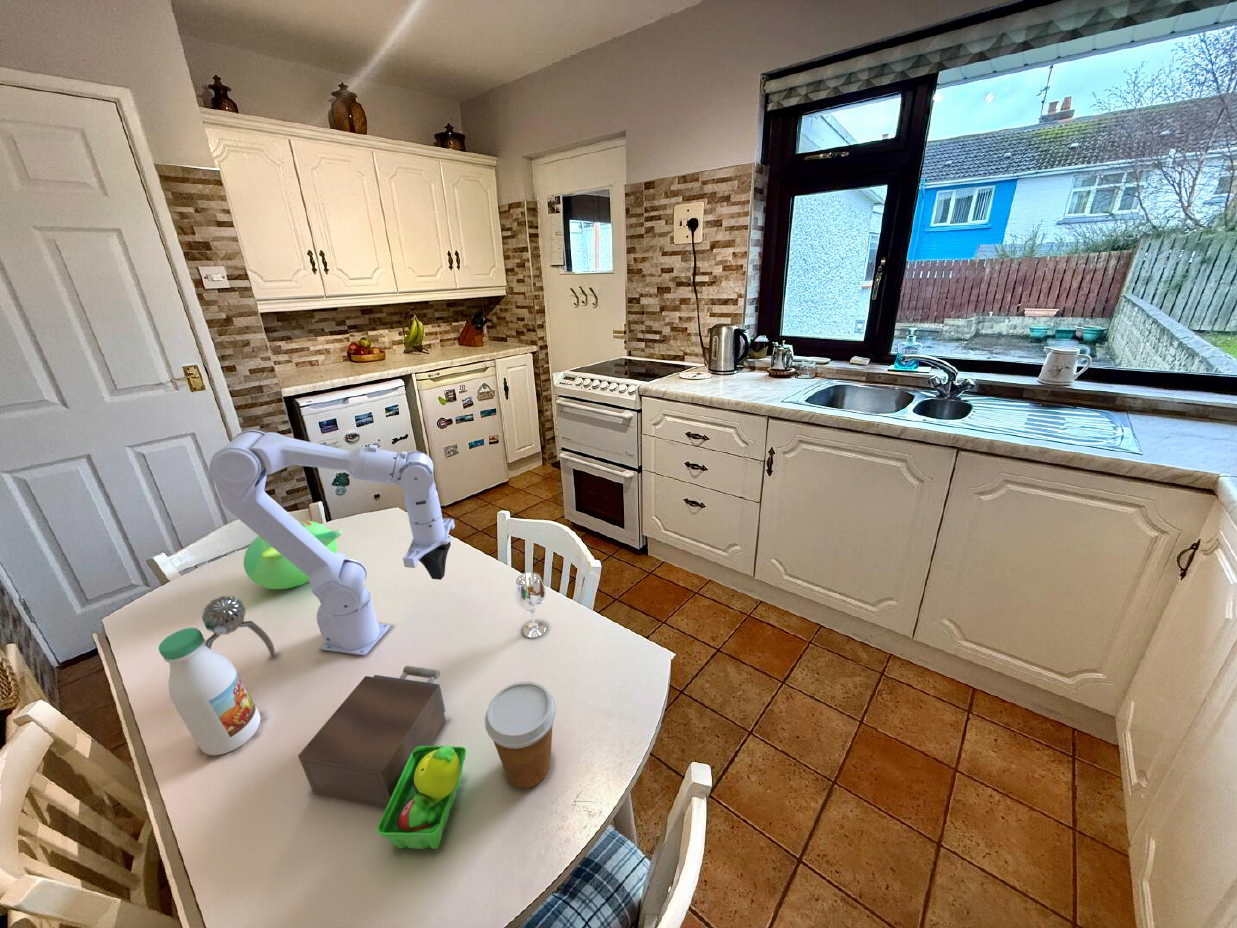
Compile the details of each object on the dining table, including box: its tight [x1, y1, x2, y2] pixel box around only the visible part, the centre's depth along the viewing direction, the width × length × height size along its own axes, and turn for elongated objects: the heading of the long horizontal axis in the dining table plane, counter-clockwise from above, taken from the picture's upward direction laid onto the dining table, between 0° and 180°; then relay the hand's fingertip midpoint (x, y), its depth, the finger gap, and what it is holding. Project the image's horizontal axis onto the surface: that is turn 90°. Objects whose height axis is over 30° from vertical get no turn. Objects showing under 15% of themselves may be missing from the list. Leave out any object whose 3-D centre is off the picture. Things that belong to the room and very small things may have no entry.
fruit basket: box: [376, 745, 467, 850], centre depth 62 cm, size 11×9×11 cm
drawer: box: [373, 665, 446, 714], centre depth 74 cm, size 17×11×6 cm
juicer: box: [201, 595, 276, 657], centre depth 78 cm, size 10×11×30 cm
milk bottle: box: [158, 627, 261, 756], centre depth 72 cm, size 8×8×20 cm
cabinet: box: [297, 675, 447, 809], centre depth 71 cm, size 14×13×8 cm
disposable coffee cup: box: [484, 680, 557, 789], centre depth 68 cm, size 10×10×12 cm
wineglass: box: [514, 571, 547, 639], centre depth 94 cm, size 6×6×12 cm
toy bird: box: [243, 520, 343, 590], centre depth 110 cm, size 18×17×15 cm
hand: (438, 577), depth 95 cm, fingers closed
